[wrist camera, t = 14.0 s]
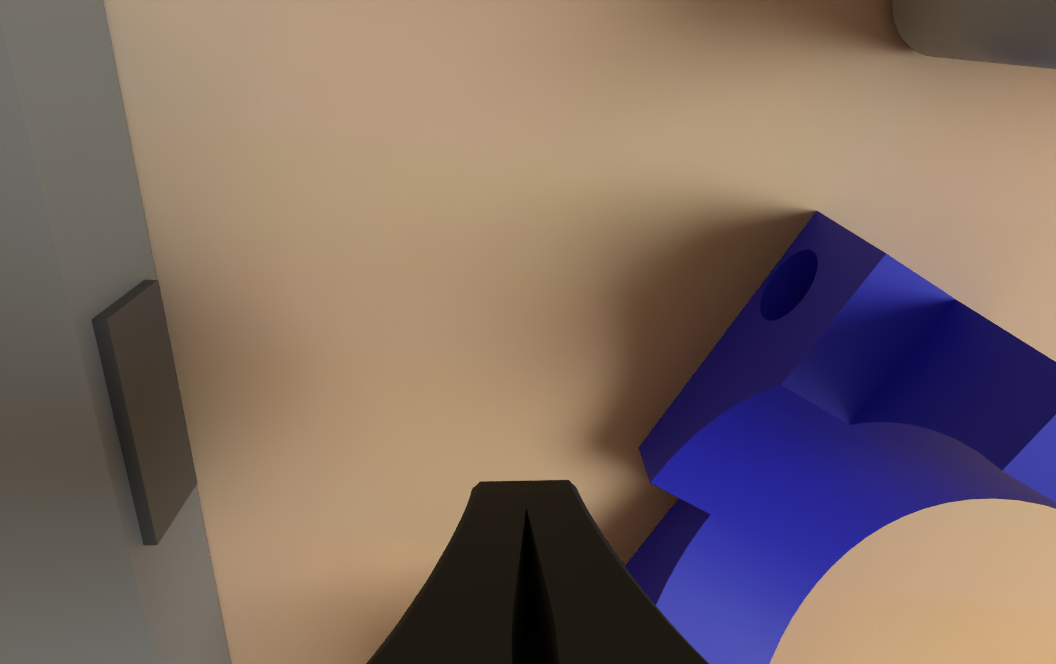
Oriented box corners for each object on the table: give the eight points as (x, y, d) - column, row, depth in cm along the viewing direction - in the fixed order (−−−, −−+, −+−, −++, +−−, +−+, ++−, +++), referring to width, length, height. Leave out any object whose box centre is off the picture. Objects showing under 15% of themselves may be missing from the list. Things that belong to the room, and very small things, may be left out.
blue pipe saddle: (813, 209, 15) (1001, 324, 9) (982, 319, 16) (1241, 483, 10) (496, 632, 19) (495, 896, 13) (649, 700, 20) (710, 971, 14)
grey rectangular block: (250, 709, 19) (206, 827, 16) (31, 714, 19) (-50, 836, 16) (117, -5, 13) (12, -9, 10) (-207, -4, 13) (-403, -9, 10)
